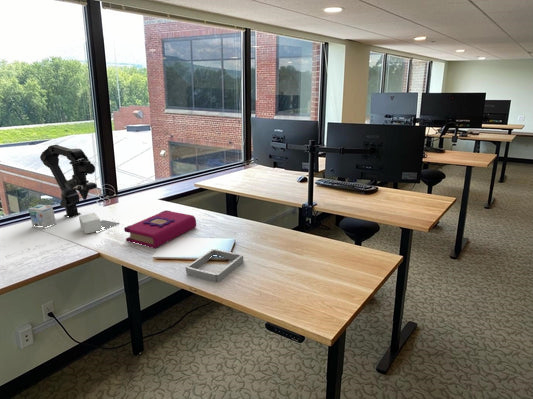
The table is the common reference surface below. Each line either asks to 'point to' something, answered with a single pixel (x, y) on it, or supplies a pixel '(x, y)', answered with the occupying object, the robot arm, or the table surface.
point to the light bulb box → (42, 215)
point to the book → (160, 228)
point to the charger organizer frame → (238, 260)
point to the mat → (107, 224)
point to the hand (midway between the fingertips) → (84, 199)
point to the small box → (90, 223)
